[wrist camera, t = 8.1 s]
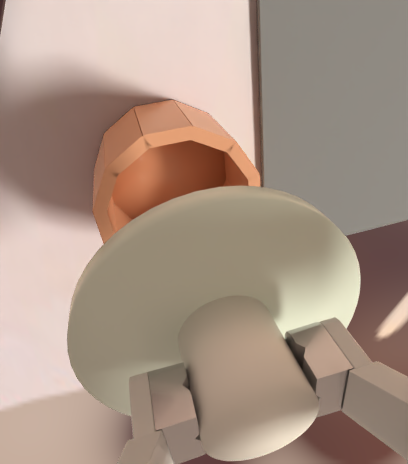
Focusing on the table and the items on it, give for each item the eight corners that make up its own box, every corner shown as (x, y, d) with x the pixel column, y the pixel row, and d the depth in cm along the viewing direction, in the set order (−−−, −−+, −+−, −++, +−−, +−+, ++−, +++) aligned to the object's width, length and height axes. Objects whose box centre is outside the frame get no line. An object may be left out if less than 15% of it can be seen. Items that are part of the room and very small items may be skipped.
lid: (358, 150, 10) (483, 218, 7) (337, 357, 15) (400, 451, 12) (11, 237, 8) (-39, 371, 5) (119, 429, 14) (125, 554, 11)
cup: (224, 89, 19) (257, 112, 15) (234, 213, 24) (262, 256, 20) (77, 117, 18) (70, 149, 14) (116, 241, 23) (120, 292, 19)
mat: (498, -39, 19) (505, -40, 19) (428, 211, 28) (432, 213, 28) (256, -3, 17) (259, -3, 17) (264, 252, 26) (266, 255, 26)
